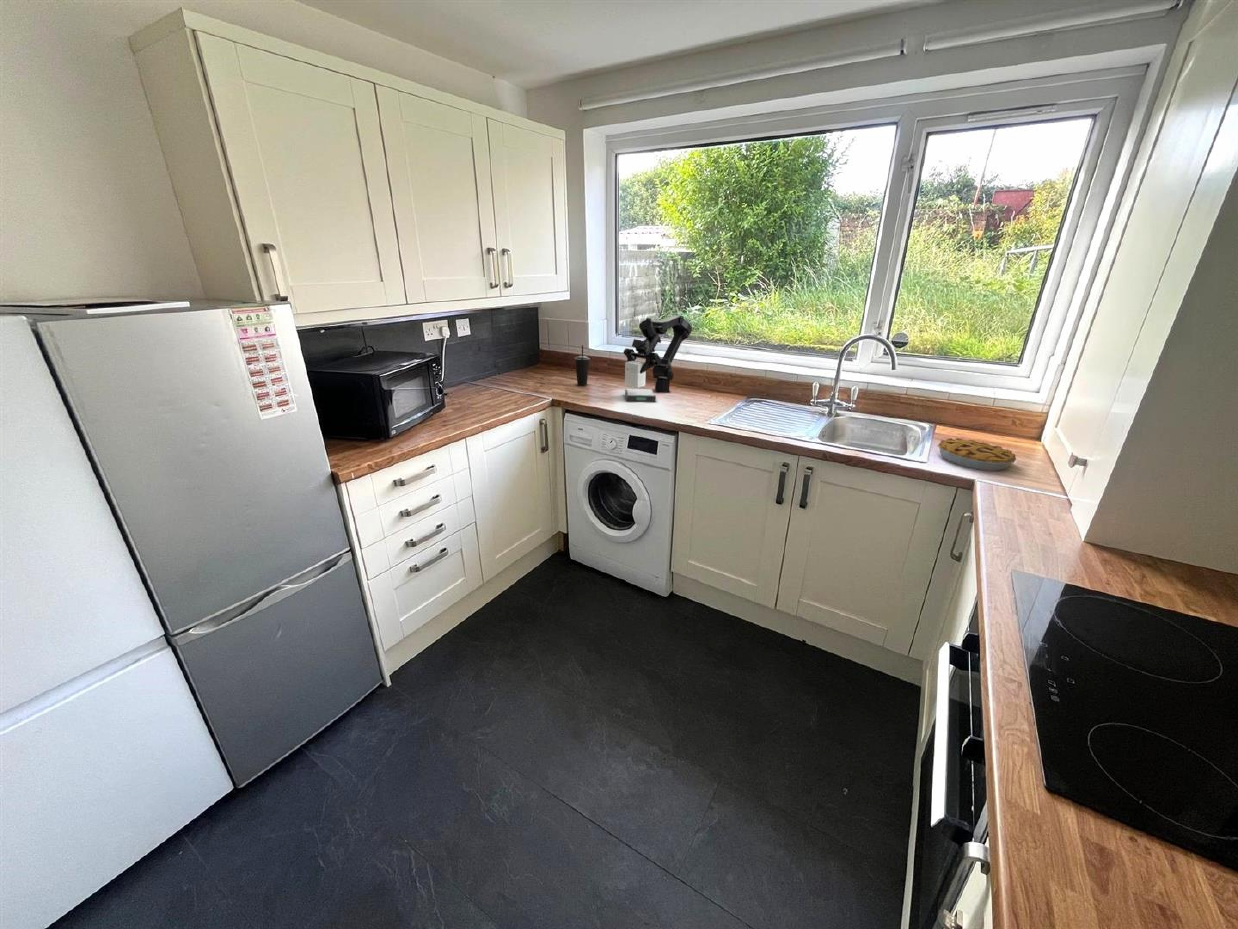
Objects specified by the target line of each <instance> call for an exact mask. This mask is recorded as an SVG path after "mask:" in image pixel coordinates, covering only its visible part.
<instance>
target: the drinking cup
mask: <svg viewBox="0 0 1238 929" xmlns="http://www.w3.org/2000/svg"><path fill="white" fill-rule="evenodd" d="M574 360H575V361H574V362H575V373H576V374H575V375H576V384H577V386H578V387H586V386H588V377H589V369H590V360H591V358H590V357H588V356H586V355H584V345H583V344H582V345H581V355H578V356H576V357H574Z"/></svg>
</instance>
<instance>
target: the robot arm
mask: <svg viewBox="0 0 1238 929" xmlns="http://www.w3.org/2000/svg"><path fill="white" fill-rule="evenodd" d="M638 327H639V330H640V332H641V334H642V335H643V337H644V338H645V339H643V340H641V339H635V338H634V339H633V341H632V343H631V347H632V348H628V347H627V348H624V350H623V352H622V353H623V354H624V356H625V357H626V358H627V359H626V360H627V361H626V362H629V361H637V359H642V360H645V361H644V362H643V363H644V365H643V366H642V368H641V370H640V373H643V372H645V371H646V372H647V371H648V370H650V369H651V368H652V375H653V379H656V380H655V381H654V390H655V391H656V393H670V392H671V391H670V385H671V384H670V383H671V381H672V380H674V376H675V375H674V373H673V371H672V369H673V367H672V362H673V361H674V358H675V357H676V354H677V352H678V351H679V349H680V347H681V344H682V343H683V342H684V341H685V340H686V339H688V338H689V337H690V335H691V333H692V331H693V328H692V327H693V326H692V325H691V324H690V322H689V321H687V320H686V319H685V318H684V316H682V315H681V314H673V315H672V316H669V317H667V318H665V319H662V320H652V319H651V317H649V318H648V317H646V318H645V319H644V320H642V321H641V322H639V325H638ZM671 328H672V332H673V337H672V339H671V341H670V343H669V344H668V347H667V348H666V351H665V353H664V354H663V356H662V357H660V355H659V353H657V352H656V349H655V348H656V346H657V345H658V343H659V344H661V343H662V340H661V338H662V337H661V336H660V335H665V334H667V333H668V331H669V329H671ZM634 348H635V350H634ZM635 351H636V352H635Z"/></svg>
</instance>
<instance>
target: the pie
mask: <svg viewBox="0 0 1238 929" xmlns="http://www.w3.org/2000/svg"><path fill="white" fill-rule="evenodd" d="M937 448H938V449H939V453H940V456H941V458H942V459H943V460H945V461H948V462H950V463H953V464H956V465H959V466H961V467H967V468H970V469H974V470H980V471H987V472H988V471H989V472H990V471H991V472H993V471H994V472H997V471H1002V470H1005V469H1006V468H1008V466H1010V465H1011V464H1013V463H1015V461H1016V460H1017V457H1016V454H1015V453H1013V451H1012V450H1009V449H1008V448H1007V449H1006V448H1003V447H1002V446H1000V445H992V444H990V443H987V442H984V441H983V442H980V441H976V440H974V439H967V440H966V439H962V438H959V437H956V438H955V439H953V438H946V439H945V440H944V439H942V440H941V441H940V442H939V443H938V444H937Z"/></svg>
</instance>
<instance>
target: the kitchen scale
mask: <svg viewBox="0 0 1238 929" xmlns="http://www.w3.org/2000/svg"><path fill="white" fill-rule="evenodd" d="M624 396H625V399H626V402H630V403H631V402H632V403H633V402H634V403H656V399H657V396H656V395H655V393H654V391H653V390H652V389H651V388H626V389H624Z"/></svg>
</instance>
